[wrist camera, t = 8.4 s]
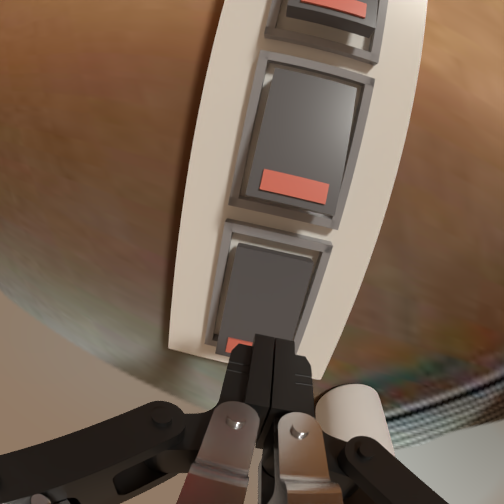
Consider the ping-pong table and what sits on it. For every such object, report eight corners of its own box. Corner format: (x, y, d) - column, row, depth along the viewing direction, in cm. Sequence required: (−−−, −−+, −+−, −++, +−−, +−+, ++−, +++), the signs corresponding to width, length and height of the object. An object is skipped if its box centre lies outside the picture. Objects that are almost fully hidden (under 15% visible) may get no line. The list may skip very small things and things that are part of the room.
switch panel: (414, -31, 14) (433, -51, 10) (317, 355, 26) (321, 386, 22) (257, -71, 14) (253, -98, 10) (178, 326, 26) (165, 354, 22)
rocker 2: (351, 96, 16) (357, 87, 14) (329, 216, 16) (335, 215, 15) (274, 77, 16) (275, 65, 14) (246, 197, 16) (245, 194, 15)
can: (313, 424, 29) (317, 524, 18) (316, 383, 27) (325, 497, 16) (372, 418, 29) (392, 513, 18) (383, 377, 26) (414, 483, 15)
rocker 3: (311, 258, 19) (314, 263, 18) (283, 358, 20) (283, 369, 19) (238, 242, 19) (236, 246, 18) (217, 344, 20) (214, 354, 19)
